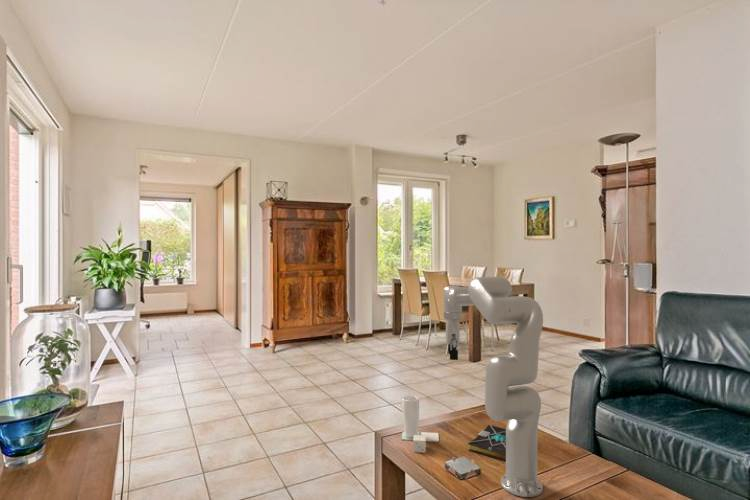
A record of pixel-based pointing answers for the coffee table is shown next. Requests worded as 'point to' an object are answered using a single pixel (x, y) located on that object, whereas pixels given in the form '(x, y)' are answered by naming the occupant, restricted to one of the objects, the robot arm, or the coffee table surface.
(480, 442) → the book
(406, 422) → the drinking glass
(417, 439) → the die
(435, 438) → the squares
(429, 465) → the coffee table surface
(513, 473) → the robot arm
